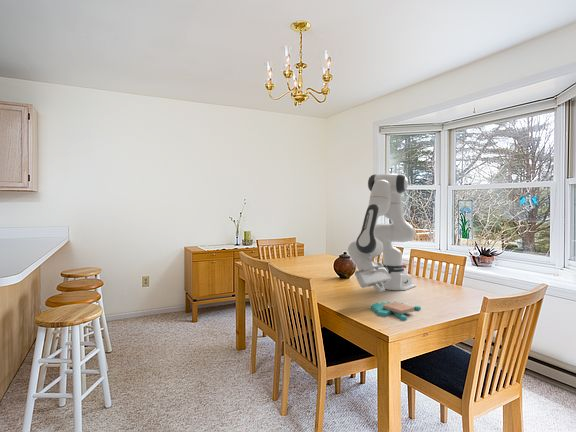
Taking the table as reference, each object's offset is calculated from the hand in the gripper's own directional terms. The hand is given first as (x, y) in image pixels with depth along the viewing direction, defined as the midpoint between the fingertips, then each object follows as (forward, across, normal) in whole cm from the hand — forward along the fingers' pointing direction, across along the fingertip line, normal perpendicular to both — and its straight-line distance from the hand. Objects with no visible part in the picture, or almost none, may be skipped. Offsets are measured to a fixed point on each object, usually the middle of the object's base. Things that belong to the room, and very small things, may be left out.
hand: (382, 291), depth 179 cm
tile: (+7, -1, +1) cm, 7 cm away
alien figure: (+11, 0, +2) cm, 11 cm away
